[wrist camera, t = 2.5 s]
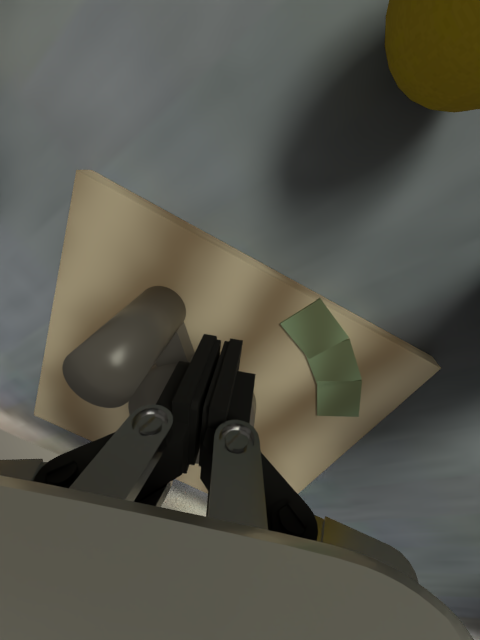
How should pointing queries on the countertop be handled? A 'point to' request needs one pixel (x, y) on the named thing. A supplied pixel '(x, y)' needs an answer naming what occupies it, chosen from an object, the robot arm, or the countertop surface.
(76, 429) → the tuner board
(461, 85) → the lemon
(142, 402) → the dark grey handled piece
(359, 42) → the countertop surface
